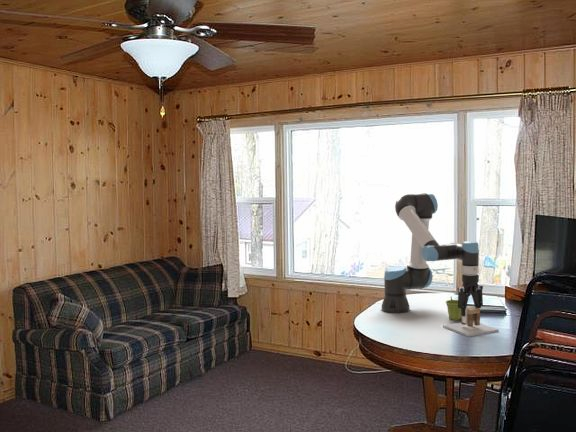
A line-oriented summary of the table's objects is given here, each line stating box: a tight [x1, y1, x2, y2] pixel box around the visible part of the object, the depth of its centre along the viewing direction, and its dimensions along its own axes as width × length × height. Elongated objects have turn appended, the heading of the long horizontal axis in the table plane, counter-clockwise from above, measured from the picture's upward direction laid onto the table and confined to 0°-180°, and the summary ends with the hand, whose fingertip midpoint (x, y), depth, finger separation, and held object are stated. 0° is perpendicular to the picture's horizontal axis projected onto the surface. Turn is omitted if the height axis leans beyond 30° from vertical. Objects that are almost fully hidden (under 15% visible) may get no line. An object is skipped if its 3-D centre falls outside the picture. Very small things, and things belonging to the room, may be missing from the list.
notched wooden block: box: [460, 305, 481, 327], centre depth 273 cm, size 6×6×8 cm
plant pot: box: [445, 299, 461, 321], centre depth 294 cm, size 9×9×9 cm
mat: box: [442, 321, 499, 338], centre depth 274 cm, size 18×18×1 cm
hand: (470, 321), depth 273 cm, fingers closed on notched wooden block, 6 cm apart
